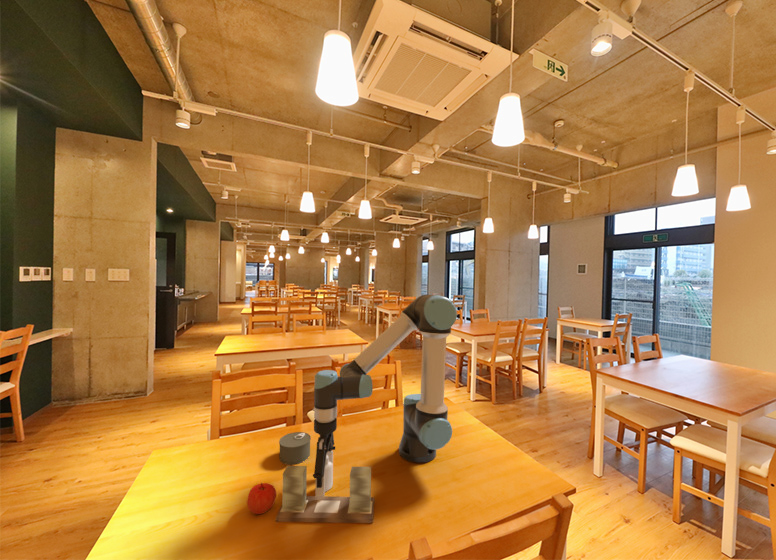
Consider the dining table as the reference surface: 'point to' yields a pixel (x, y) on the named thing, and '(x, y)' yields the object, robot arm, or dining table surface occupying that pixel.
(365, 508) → the wooden base with posts
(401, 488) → the dining table surface
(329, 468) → the eye dropper bottle
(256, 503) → the apple
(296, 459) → the can
